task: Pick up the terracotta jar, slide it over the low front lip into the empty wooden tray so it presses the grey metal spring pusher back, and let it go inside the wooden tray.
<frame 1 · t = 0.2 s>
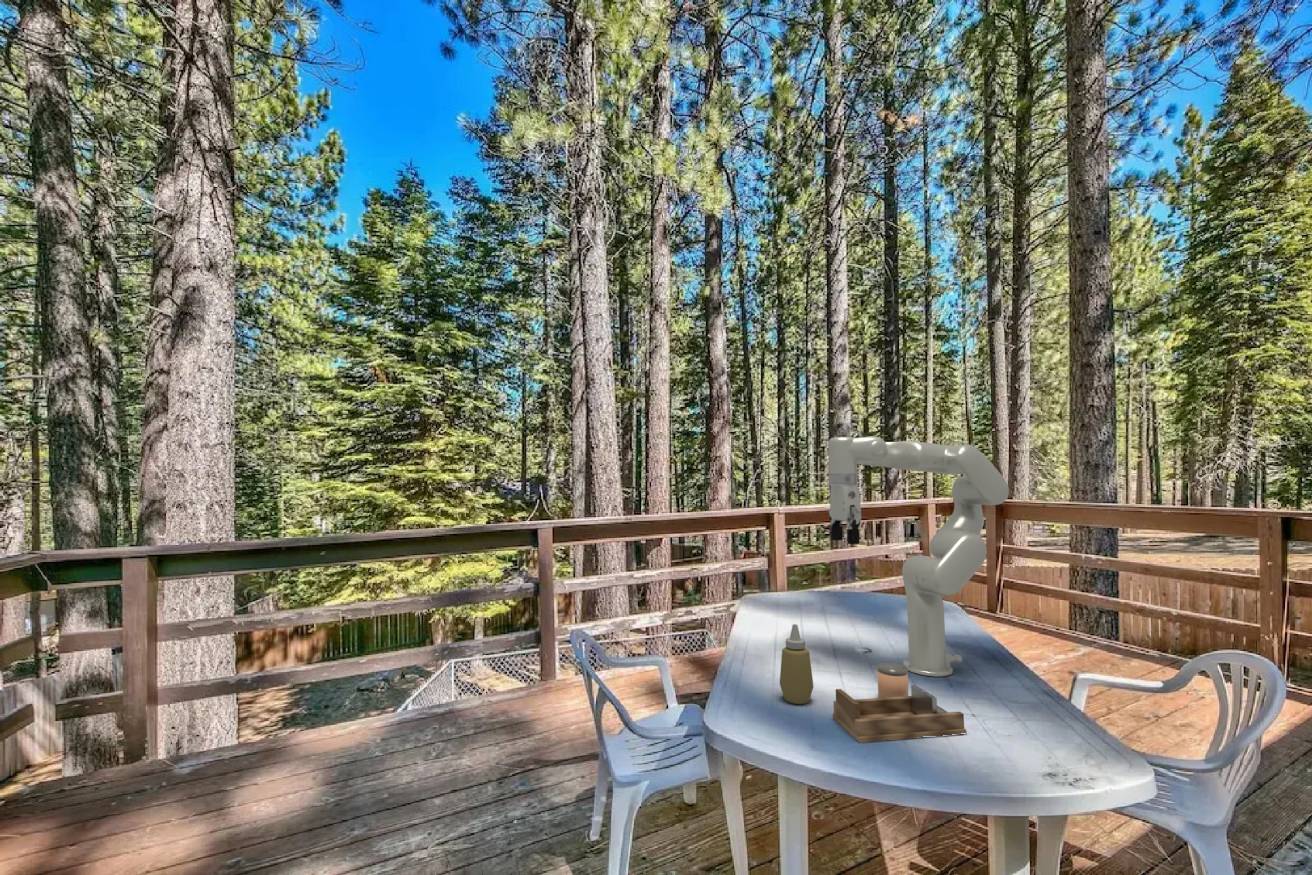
hand: (844, 541, 155), 36 cm above the table, tool pointing down, fingers open, 9 cm apart
jar: (893, 700, 135), on the table
squeeze bottle: (796, 700, 136), on the table
wooden tray: (901, 725, 121), on the table
pusher: (928, 704, 122), point 4 cm above the table, slide at 0.0 cm
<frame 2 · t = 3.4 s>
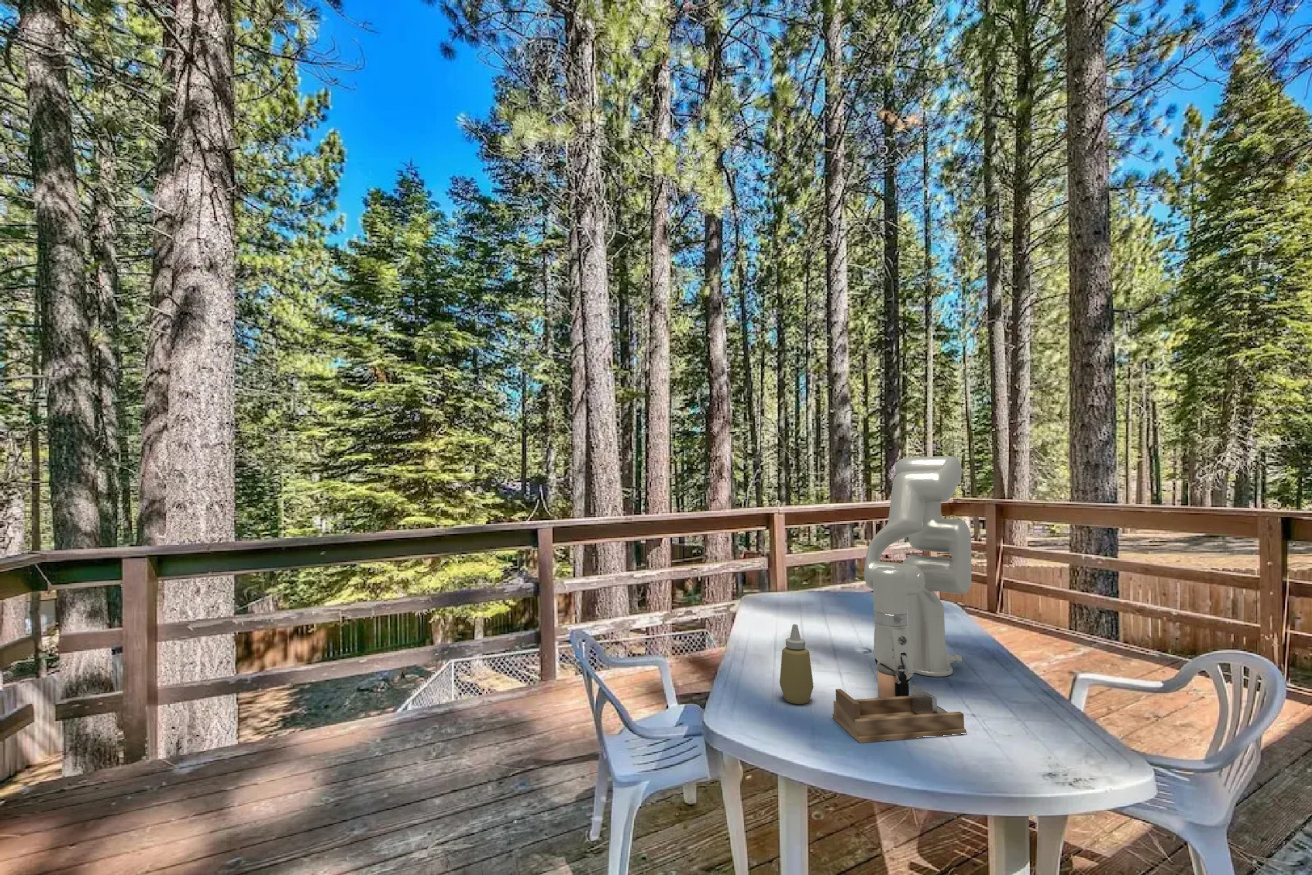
hand: (893, 693, 135), 2 cm above the table, tool pointing down, fingers closed on jar, 6 cm apart
jar: (893, 700, 135), on the table, touching gripper
everything else where it was.
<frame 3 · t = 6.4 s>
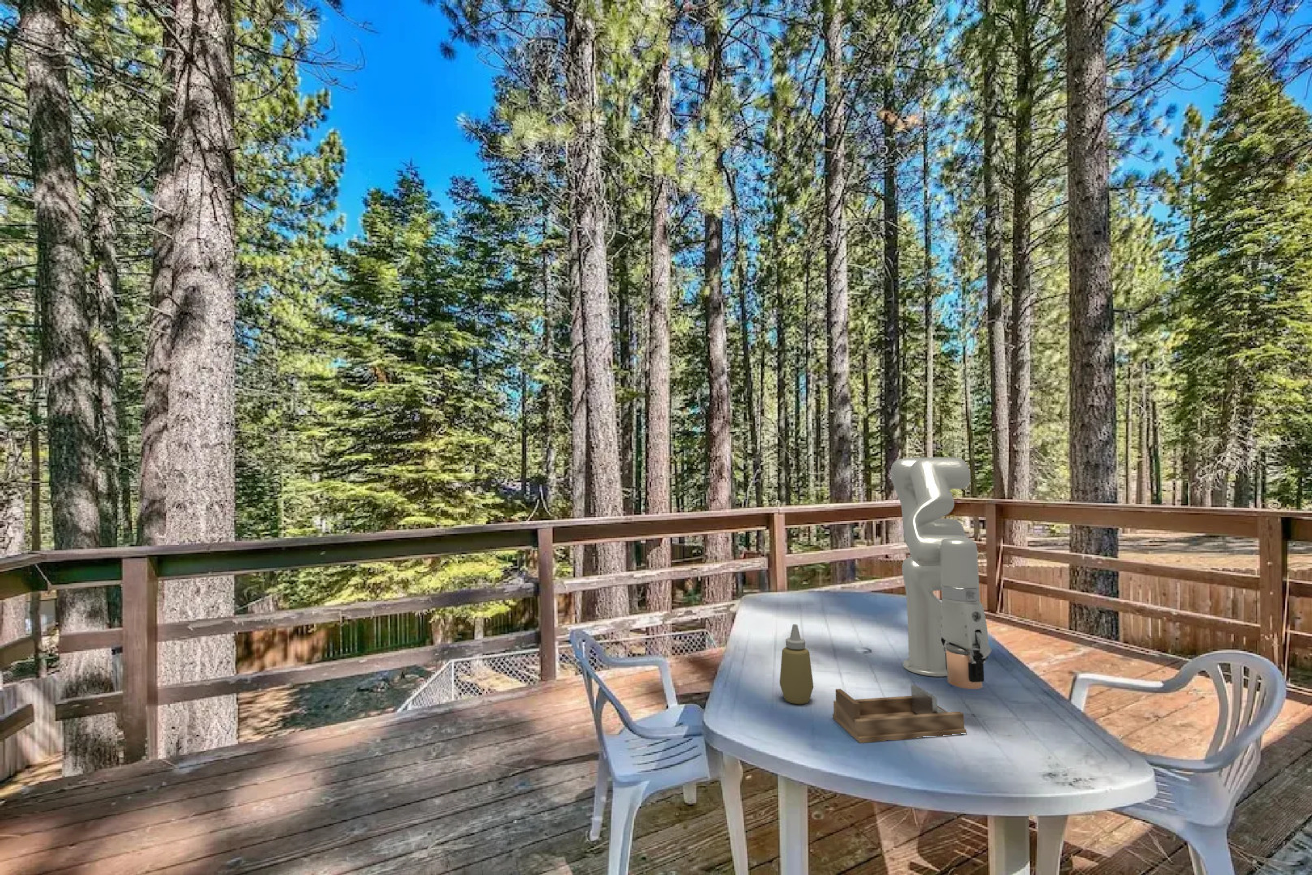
hand: (964, 675, 124), 10 cm above the table, tool pointing down, fingers closed on jar, 6 cm apart
jar: (964, 683, 124), point 8 cm above the table, touching gripper
everything else where it was.
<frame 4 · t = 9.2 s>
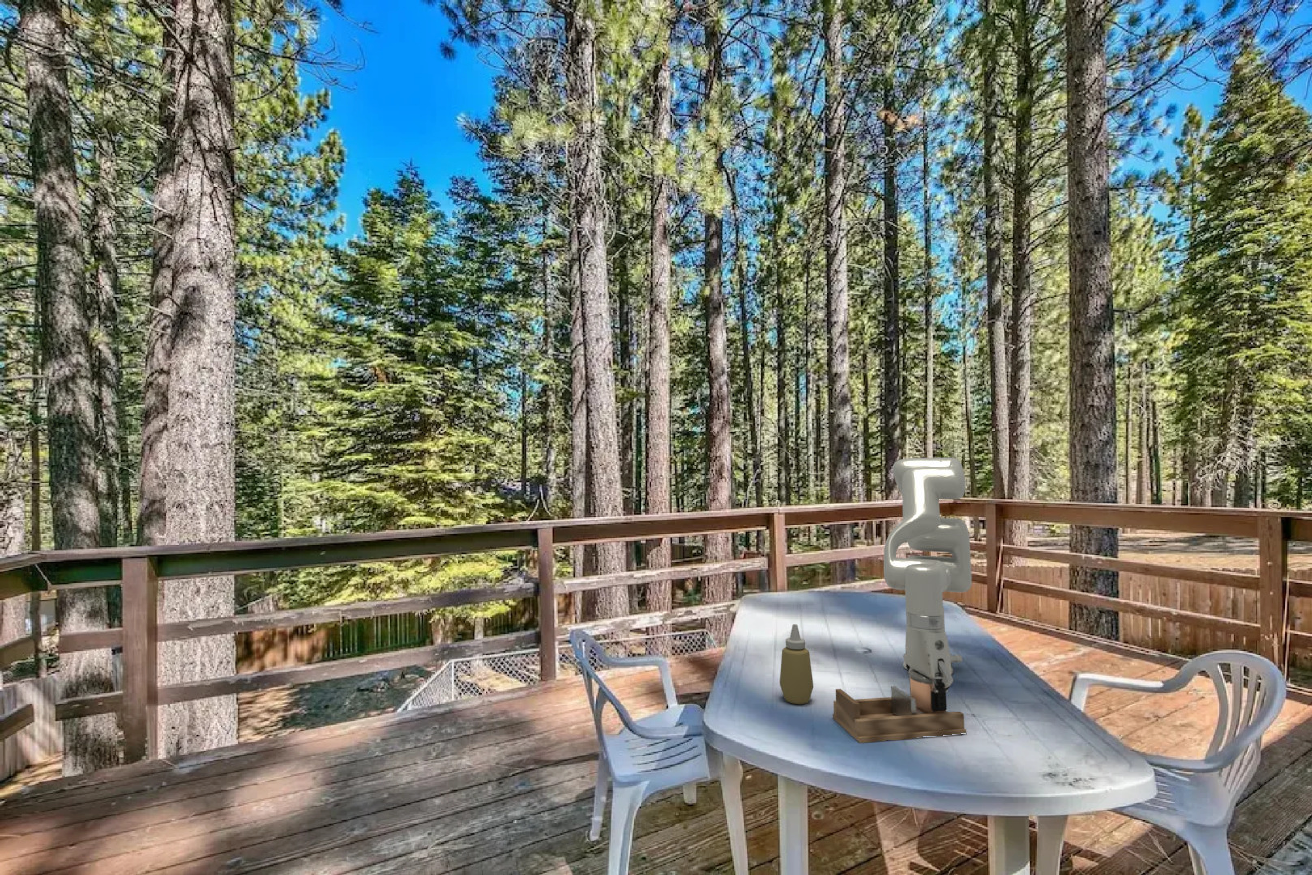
hand: (928, 702, 123), 4 cm above the table, tool pointing down, fingers closed on jar, 6 cm apart
jar: (928, 711, 122), point 3 cm above the table, touching gripper, pusher
pusher: (907, 705, 122), point 4 cm above the table, slide at 4.9 cm, touching jar
everything else where it was.
when the fingers open (4 cm above the table, at t = 9.7 s): jar drops 2 cm, resting on wooden tray, pusher.
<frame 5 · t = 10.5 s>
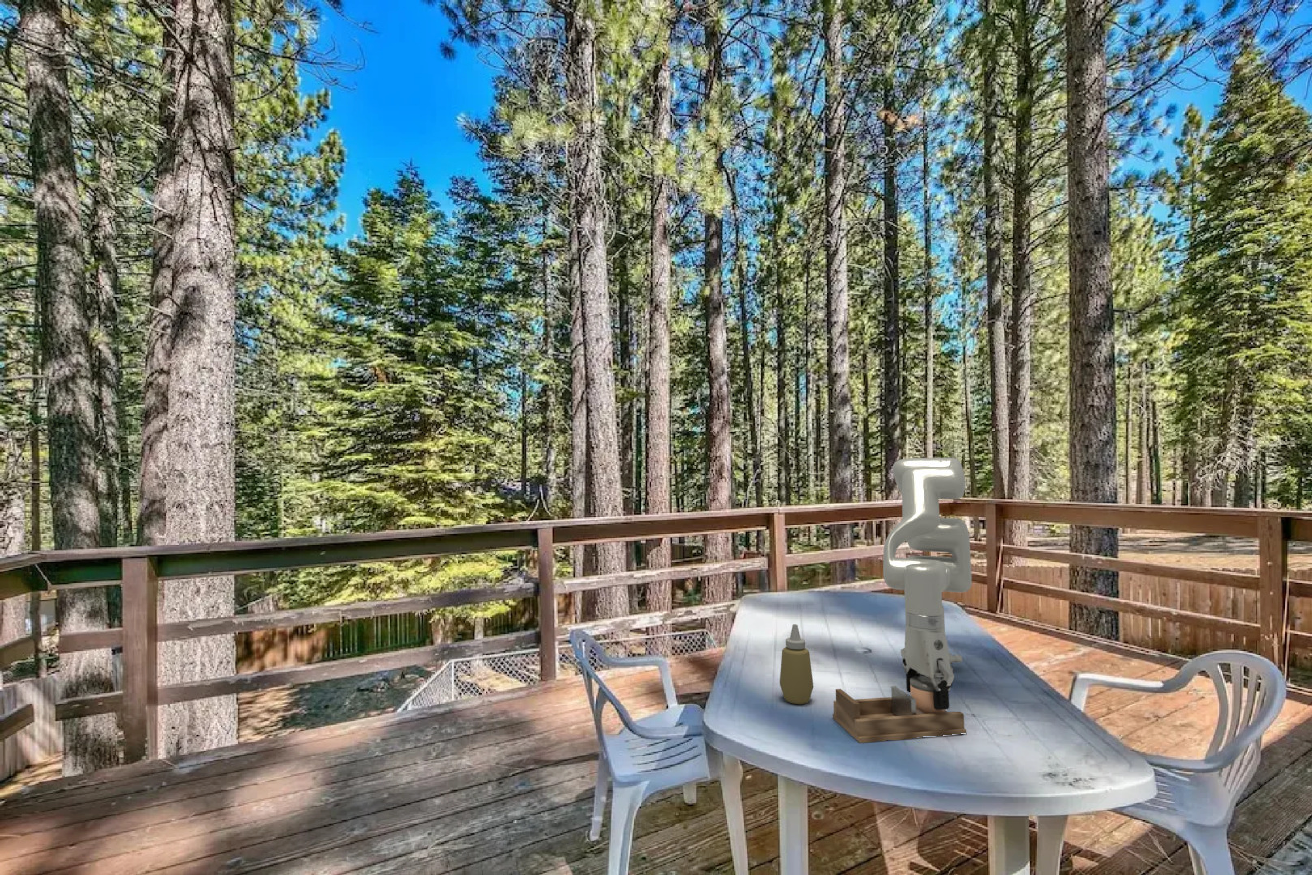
hand: (927, 699, 122), 5 cm above the table, tool pointing down, fingers open, 9 cm apart
jar: (928, 718, 122), point 1 cm above the table, touching wooden tray, pusher
everything else where it was.
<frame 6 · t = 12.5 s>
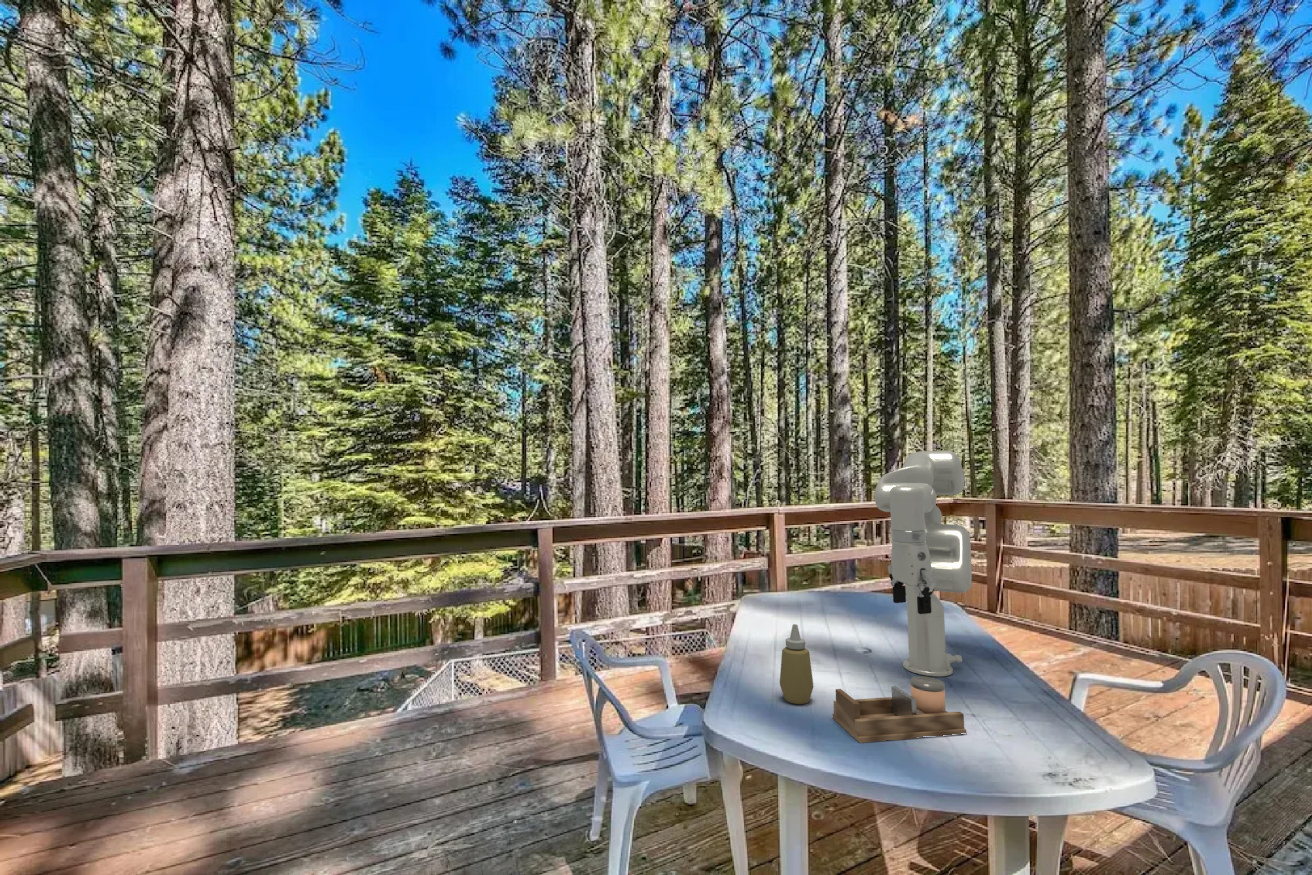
hand: (911, 607, 134), 23 cm above the table, tool pointing down, fingers open, 9 cm apart
nothing on the table moved.
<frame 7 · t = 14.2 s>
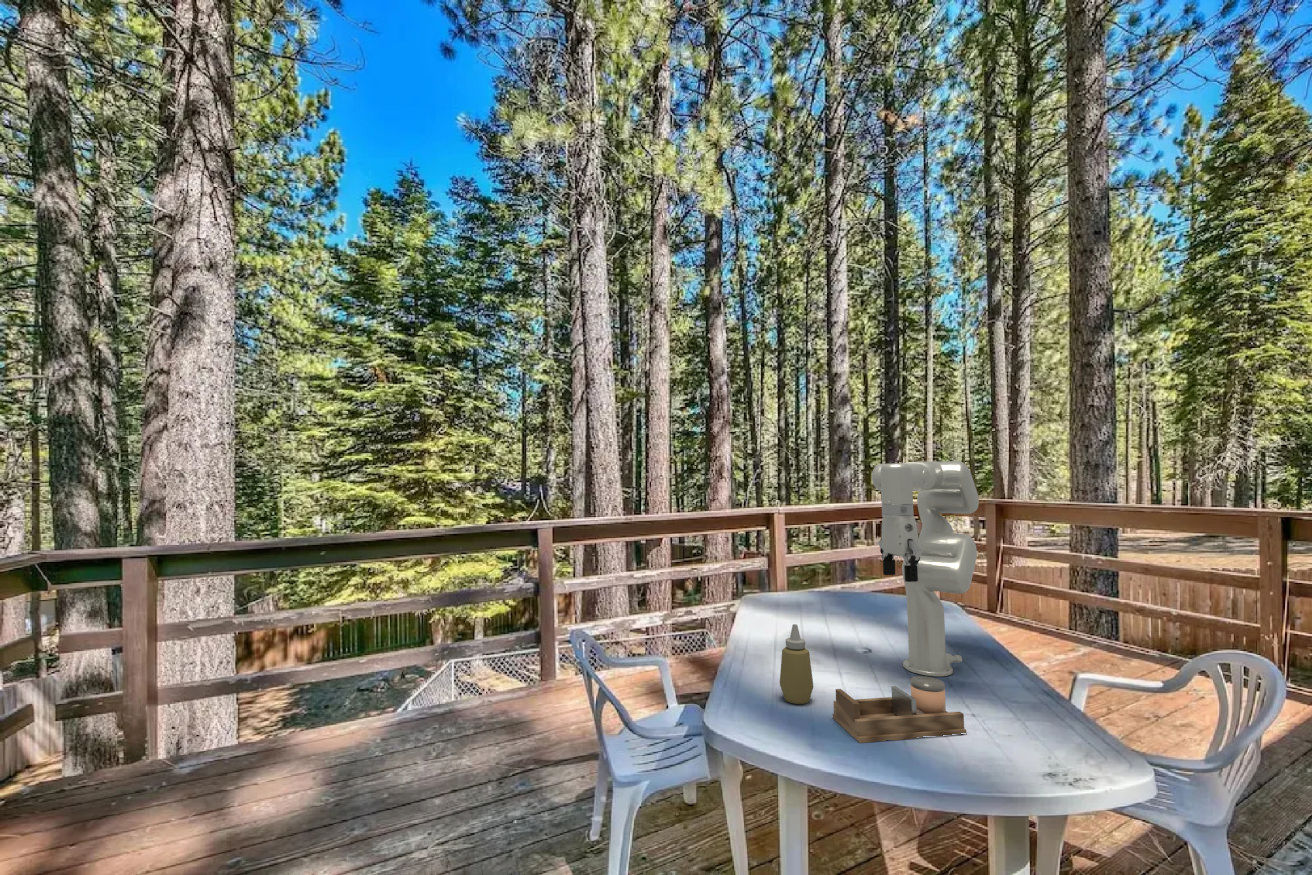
hand: (900, 578, 143), 28 cm above the table, tool pointing down, fingers open, 9 cm apart
nothing on the table moved.
at the end: jar 0.4 cm from the target spot on the wooden tray, point 1.0 cm above the wooden tray's base; jar tilted 0°; pusher slide at 4.8 cm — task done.
